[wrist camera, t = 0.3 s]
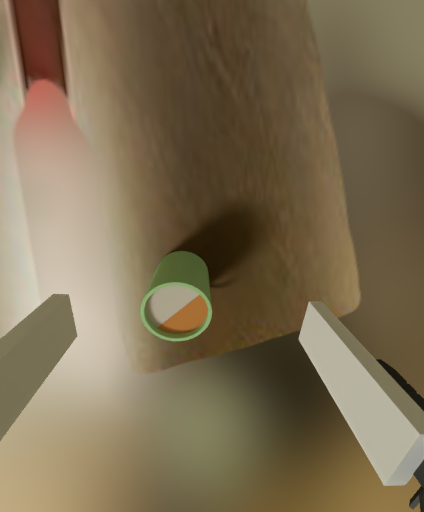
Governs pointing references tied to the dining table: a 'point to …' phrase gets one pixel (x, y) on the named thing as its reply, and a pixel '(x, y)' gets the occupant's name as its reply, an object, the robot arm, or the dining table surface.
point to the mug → (178, 298)
